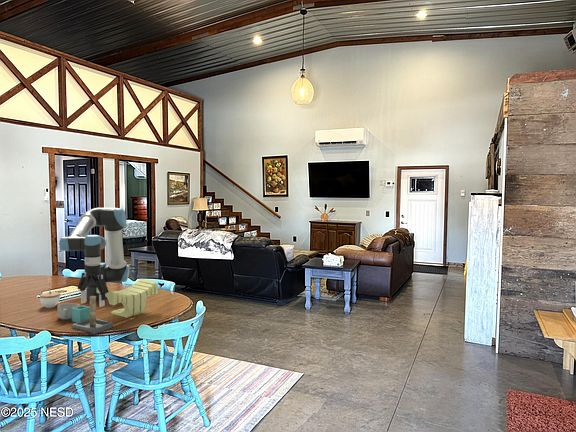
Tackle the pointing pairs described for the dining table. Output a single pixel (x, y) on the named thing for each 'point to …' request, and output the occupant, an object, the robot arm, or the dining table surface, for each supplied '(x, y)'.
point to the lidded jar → (50, 299)
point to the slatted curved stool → (132, 297)
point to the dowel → (92, 311)
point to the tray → (99, 327)
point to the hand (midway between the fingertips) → (92, 304)
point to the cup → (80, 313)
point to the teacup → (66, 310)
